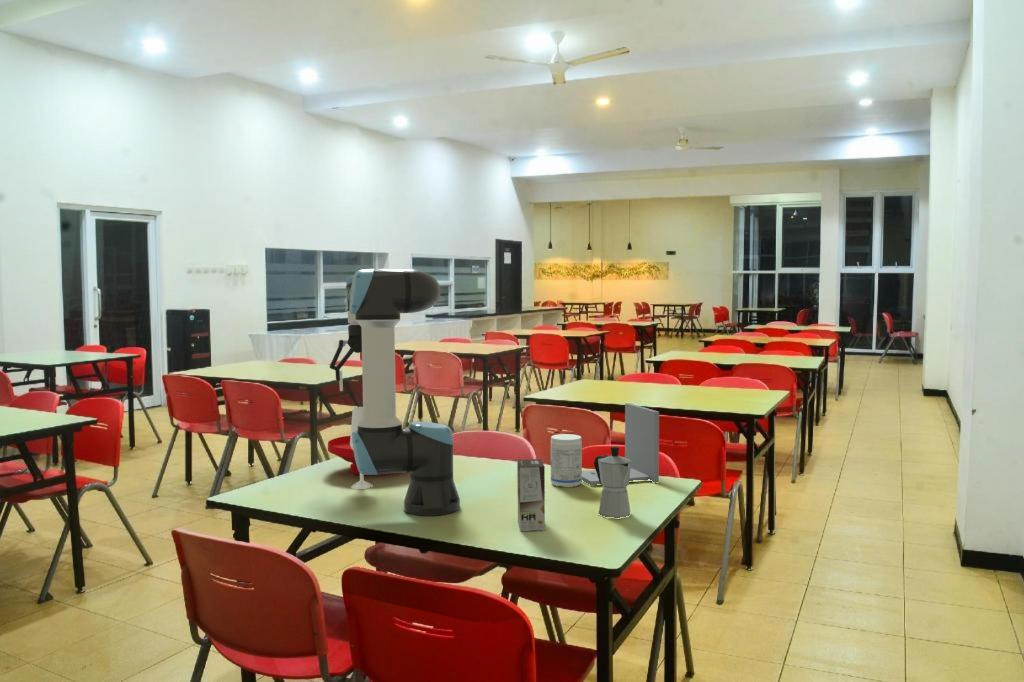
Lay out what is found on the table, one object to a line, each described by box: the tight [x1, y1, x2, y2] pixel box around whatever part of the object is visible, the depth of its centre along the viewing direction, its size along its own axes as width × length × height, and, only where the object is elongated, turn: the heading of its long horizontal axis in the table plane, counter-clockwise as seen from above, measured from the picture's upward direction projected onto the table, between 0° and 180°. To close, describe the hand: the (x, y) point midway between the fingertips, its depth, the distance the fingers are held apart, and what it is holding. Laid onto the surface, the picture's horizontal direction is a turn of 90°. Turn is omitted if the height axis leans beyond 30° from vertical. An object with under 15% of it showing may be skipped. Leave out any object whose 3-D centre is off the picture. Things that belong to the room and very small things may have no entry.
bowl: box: [327, 434, 384, 476], centre depth 258 cm, size 30×30×10 cm
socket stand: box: [582, 402, 660, 485], centre depth 244 cm, size 20×21×22 cm
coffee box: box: [516, 458, 546, 532], centre depth 194 cm, size 9×6×16 cm
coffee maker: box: [593, 446, 632, 518], centre depth 205 cm, size 15×9×18 cm, turn 30°
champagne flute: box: [350, 406, 374, 490], centre depth 235 cm, size 7×7×24 cm
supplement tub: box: [550, 433, 583, 487], centre depth 237 cm, size 10×10×15 cm
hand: (362, 389), depth 252 cm, fingers open, 13 cm apart
